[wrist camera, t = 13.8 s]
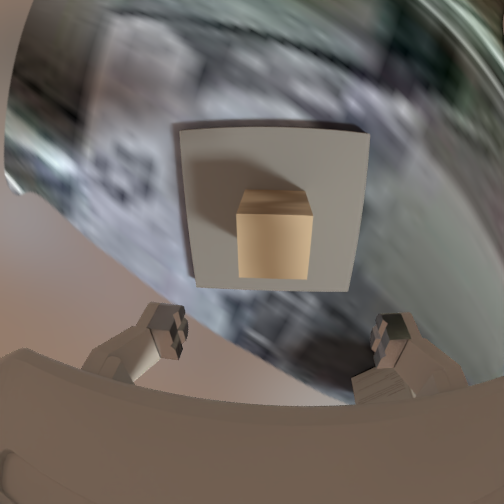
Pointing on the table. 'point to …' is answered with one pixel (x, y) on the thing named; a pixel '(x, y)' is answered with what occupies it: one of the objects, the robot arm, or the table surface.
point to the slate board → (274, 178)
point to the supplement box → (380, 386)
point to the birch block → (274, 234)
